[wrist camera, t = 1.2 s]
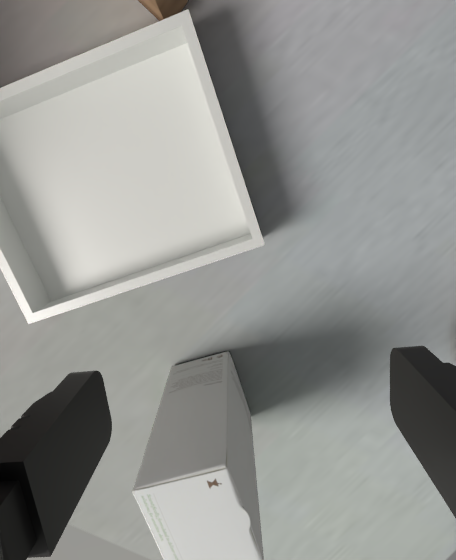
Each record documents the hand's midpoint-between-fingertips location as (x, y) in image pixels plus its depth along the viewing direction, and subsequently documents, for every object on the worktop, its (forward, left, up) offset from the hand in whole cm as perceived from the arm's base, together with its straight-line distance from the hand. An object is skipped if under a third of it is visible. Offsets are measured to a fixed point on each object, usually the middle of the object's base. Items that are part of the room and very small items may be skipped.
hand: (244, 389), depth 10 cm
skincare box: (+13, +8, -25) cm, 29 cm away
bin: (+3, -12, -25) cm, 28 cm away
